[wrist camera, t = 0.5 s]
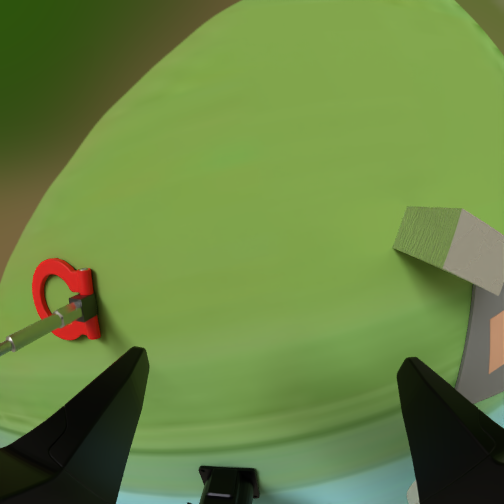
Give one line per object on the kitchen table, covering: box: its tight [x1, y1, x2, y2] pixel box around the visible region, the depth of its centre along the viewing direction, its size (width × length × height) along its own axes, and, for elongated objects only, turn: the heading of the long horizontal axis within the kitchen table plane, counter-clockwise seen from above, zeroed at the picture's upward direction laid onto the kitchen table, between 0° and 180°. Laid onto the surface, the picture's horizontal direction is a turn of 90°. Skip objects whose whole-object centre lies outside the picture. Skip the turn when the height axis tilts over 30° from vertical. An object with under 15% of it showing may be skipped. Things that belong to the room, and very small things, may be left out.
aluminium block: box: [392, 206, 504, 296], centre depth 17 cm, size 4×6×8 cm, turn 70°
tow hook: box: [0, 258, 101, 356], centre depth 19 cm, size 8×13×9 cm
